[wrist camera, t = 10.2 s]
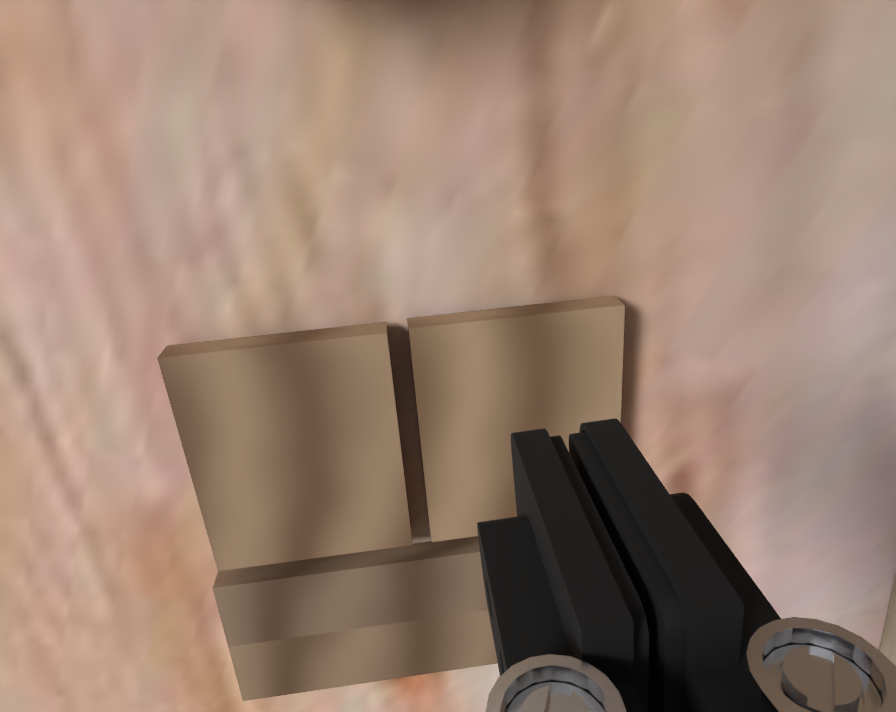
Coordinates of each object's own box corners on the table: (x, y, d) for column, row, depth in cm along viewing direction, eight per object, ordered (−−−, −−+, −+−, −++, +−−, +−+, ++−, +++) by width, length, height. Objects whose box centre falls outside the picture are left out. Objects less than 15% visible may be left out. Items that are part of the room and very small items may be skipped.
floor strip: (616, 516, 36) (625, 532, 35) (614, 626, 39) (622, 644, 38) (218, 570, 35) (212, 588, 33) (247, 680, 37) (243, 701, 36)
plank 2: (429, 525, 35) (431, 542, 34) (407, 318, 30) (408, 328, 29) (608, 501, 36) (617, 517, 34) (614, 295, 31) (624, 304, 30)
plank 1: (223, 552, 34) (218, 571, 33) (166, 345, 29) (157, 358, 28) (411, 527, 35) (412, 545, 34) (386, 321, 30) (386, 333, 29)
